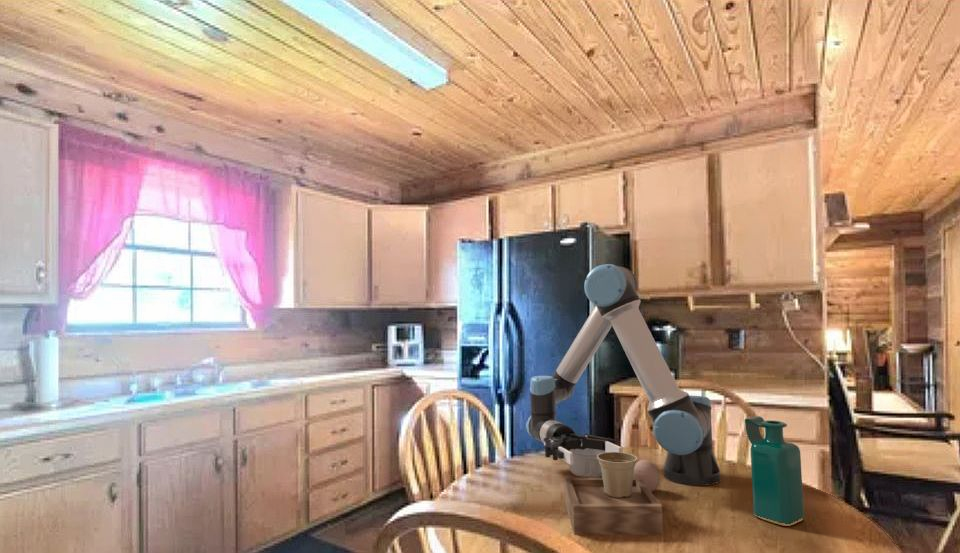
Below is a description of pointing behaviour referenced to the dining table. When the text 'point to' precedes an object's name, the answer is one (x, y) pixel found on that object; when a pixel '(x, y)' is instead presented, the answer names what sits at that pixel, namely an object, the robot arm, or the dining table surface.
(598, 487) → the walnut open box
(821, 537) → the dining table surface
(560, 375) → the robot arm
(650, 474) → the egg
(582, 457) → the ramekin
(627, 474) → the flower pot
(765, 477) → the teal bottle with handle
